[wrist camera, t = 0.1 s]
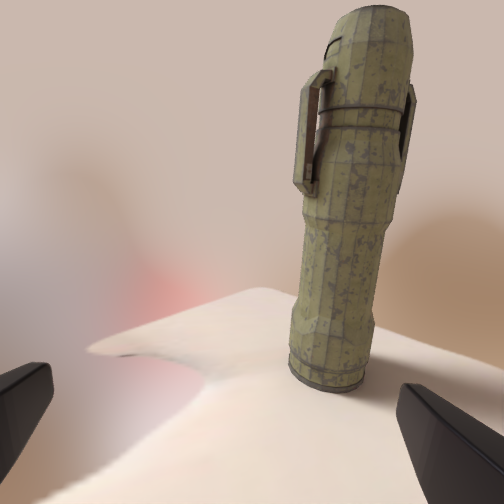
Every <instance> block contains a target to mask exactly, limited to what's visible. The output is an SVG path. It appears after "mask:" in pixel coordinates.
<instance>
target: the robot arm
mask: <svg viewBox="0 0 504 504" xmlns="http://www.w3.org/2000/svg"><path fill="white" fill-rule="evenodd" d="M53 395H54V385H53V377H52V369H51V366H50V364H48V363H45V362H31V363H28V364H25V365H23V366H20V367H18V368H16V369H13V370H11V371H8V372H6V373H4V374H2V375H0V484H1V483H2V481H3V480H4V478H5V477H6V476H7V474H8V473H9V471H10V470H11V468H12V467H13V465H14V464H15V462H16V460H17V459H18V457H19V456H20V454H21V452H22V451H23V449H24V447H25V445H26V444H27V442H28V440H29V439H30V437H31V435H32V434H33V432H34V430H35V428H36V427H37V425H38V423H39V421H40V420H41V418H42V416H43V414H44V413H45V411H46V409H47V408H48V406H49V404H50V402H51V400H52V398H53ZM396 417H397V421H398V424H399V427H400V430H401V432H402V435H403V438H404V441H405V444H406V447H407V450H408V453H409V456H410V458H411V461H412V464H413V467H414V470H415V473H416V475H417V478H418V481H419V483H420V486H421V488H422V491H423V493H424V495H425V497H426V500H427V502H428V504H504V436H502V435H500V434H499V433H497V432H496V431H494V430H492V429H491V428H489V427H488V426H486V425H485V424H483V423H481V422H480V421H478V420H477V419H475V418H473V417H472V416H470V415H469V414H467V413H465V412H464V411H462V410H461V409H459V408H457V407H456V406H454V405H453V404H451V403H450V402H448V401H446V400H445V399H443V398H442V397H440V396H438V395H437V394H435V393H434V392H432V391H430V390H429V389H427V388H426V387H424V386H422V385H421V384H413V383H405V384H403V385H402V386H401V389H400V394H399V399H398V403H397V408H396Z"/></svg>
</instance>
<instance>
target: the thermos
mask: <svg viewBox="0 0 504 504" xmlns="http://www.w3.org/2000/svg"><path fill="white" fill-rule="evenodd" d="M412 61H413V41H412V35H411V28H410V21H409V16H408V15H407V14H406V13H405V12H403V11H401V10H399V9H397V8H394V7H392V6H386V5H371V6H365V7H361V8H359V9H355V10H354V11H352V12H350V13H348V14H347V15H345V16H343V17H341V18H340V19H339V20H338V22H337V23H336V26H335V29H334V31H333V34H332V36H331V39H330V41H329V44H328V46H327V49H326V52H325V55H324V62H323V70H320V71H318V72H317V73H315V74H314V75H312V76H311V77H310V79H309V80H308V81H307V83H306V84H305V85H304V87H303V88H302V89H301V96H300V107H299V120H298V131H297V142H296V154H295V166H294V175H293V183H294V184H295V186H296V187H297V188H298V189H299V190H300V192H302V194H303V195H304V201H303V211H302V213H303V217H304V220H305V223H306V225H305V235H304V245H303V255H302V266H301V276H300V285H299V295H298V299H297V301H296V302H295V304H294V306H293V308H292V317H291V328H290V338H289V346H290V354H289V363H288V365H289V368H290V370H291V372H292V374H293V375H294V376H295V377H296V378H297V379H298V380H300V381H301V382H303V383H304V384H306V385H307V386H309V387H312V388H315V389H318V390H320V391H325V392H332V393H341V392H348V391H351V390H354V389H357V388H358V387H359V386H360V385H361V384H362V383H363V379H364V374H365V365H366V364H367V363H368V359H369V355H370V349H371V343H372V338H373V332H374V326H375V322H374V318H373V313H372V306H373V300H374V294H375V288H376V282H377V276H378V270H379V265H380V259H381V253H382V247H383V241H384V235H385V231H386V229H387V228H388V226H389V225H390V223H391V222H392V220H393V214H394V208H395V202H396V197H397V194H399V190H400V186H401V182H402V179H403V175H404V170H405V164H406V159H407V153H408V147H409V141H410V136H411V130H412V125H413V119H414V113H415V108H416V103H417V100H416V97H415V92H414V88H413V85H412V84H410V80H409V79H410V73H411V67H412ZM320 88H321V92H320V102H319V91H320ZM318 102H319V111H318ZM317 112H318V115H320V121H319V129H318V130H317V131H316V122H317ZM315 132H316V140H315ZM314 141H315V144H314Z"/></svg>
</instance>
